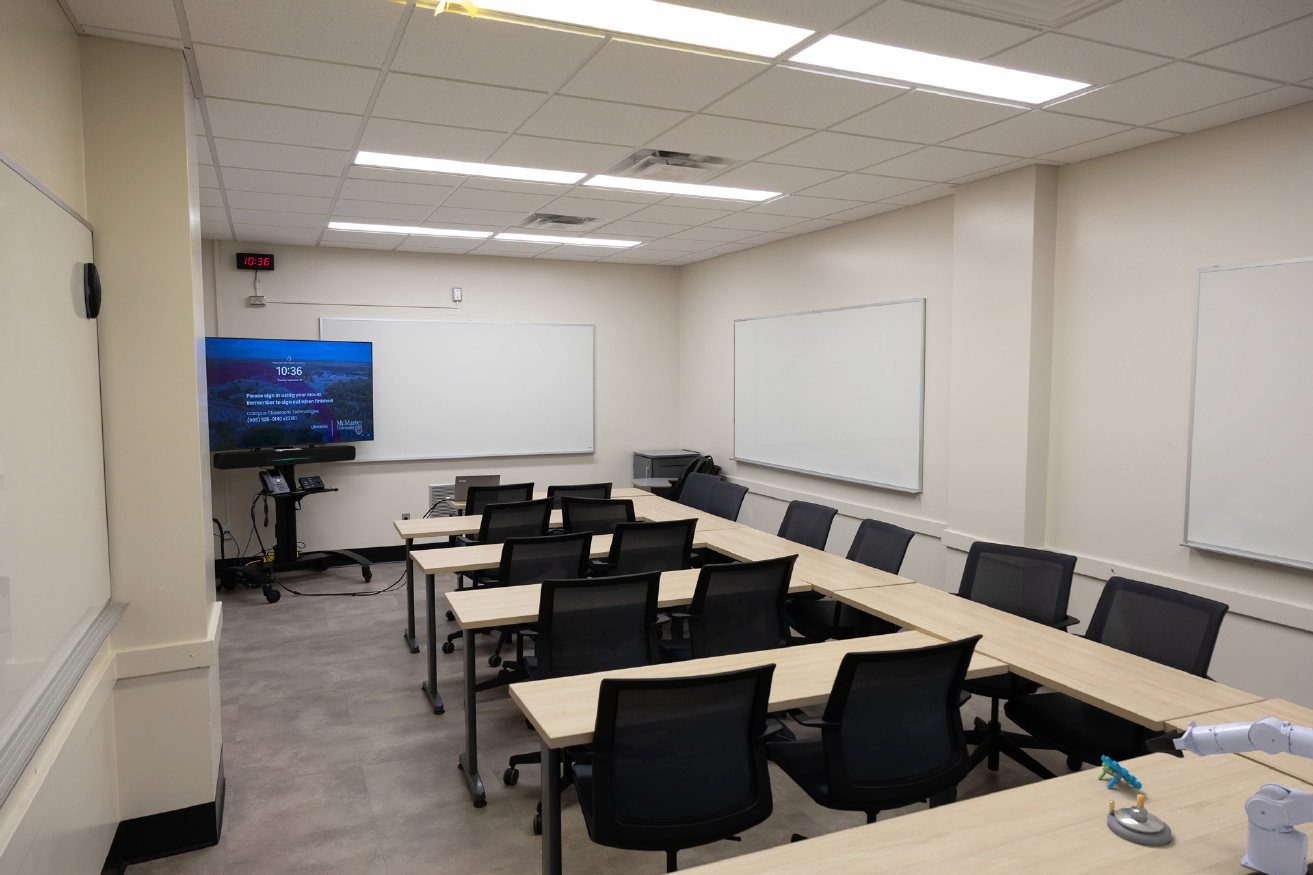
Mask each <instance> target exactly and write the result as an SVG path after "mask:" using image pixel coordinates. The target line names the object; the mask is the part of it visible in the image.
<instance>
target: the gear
mask: <svg viewBox="0 0 1313 875" xmlns="http://www.w3.org/2000/svg"><path fill="white" fill-rule="evenodd" d="M1100 758H1101V761H1102V764H1101V765H1102V772H1101V773H1100V775H1099V776H1098V777H1097V778H1098V780H1100V781H1101V780H1103V778H1104V777H1105V775H1106V774H1107V775H1110V776H1111V777H1112V778H1111V780H1110V781H1109V782H1108V783H1107V784H1106V787H1107V788H1109V789H1110V790H1111V789H1112V788H1113V787H1114V786H1115V784H1116V783H1117V782H1118V781H1121V780H1122V779H1123V781H1124V782H1126V783H1127V784H1130V785H1131V786H1132V787H1133V788H1135V789H1136V788H1138V790H1141V789H1142V788H1143V784H1142V783H1141V782H1140V781H1139V780H1138V778H1136V777H1135V775H1133V774H1130V773H1129V770H1127V769H1126V768H1124V767H1123V766H1121V765H1120V764H1119V762H1118V761H1115V760H1112V758H1110V757H1109V756H1105V755H1104V754H1102V756H1101V757H1100Z"/></svg>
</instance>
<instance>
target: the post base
mask: <svg viewBox="0 0 1313 875" xmlns="http://www.w3.org/2000/svg"><path fill="white" fill-rule="evenodd" d="M1115 808H1116V805H1115V800H1112V799H1109V810H1108V811H1109V812H1108V814H1107V816H1106V819H1107V820H1106V825H1107V828H1108V829H1109V830H1110V831H1111V832H1112V833H1113V834H1115V835H1116V836H1117V837H1120V838H1122V839H1124V840H1126V841H1129V842H1131V843H1135V844H1138V845H1143V846H1147V847H1148V846H1149V847H1160V846H1162V845H1163V846H1166V845H1168V844H1170V843H1171V842H1172V829H1171V827H1170V826H1169V825H1168V824H1167V823H1166V822H1164V821H1163V820H1161V821H1162V822H1163V830H1162V831H1161V832H1159V833H1142V832H1138V831H1134V830H1131V829H1129V828H1127V827H1125V826H1123V825H1121V824H1120V823H1119V822H1118V821H1117V820H1116V819H1115V812H1116V811H1117V810H1118V809H1116V810H1115ZM1170 841H1171V842H1170ZM1169 842H1170V843H1169ZM1165 844H1166V845H1165Z"/></svg>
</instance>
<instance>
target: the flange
mask: <svg viewBox="0 0 1313 875" xmlns="http://www.w3.org/2000/svg"><path fill="white" fill-rule="evenodd" d="M1116 810H1117V811H1116V812H1115V819H1116V820H1117V821H1118V822H1119V823H1120V824H1121V825H1123V826H1125V827H1127V828H1129V829H1131V830H1134V831H1138V832H1142V833H1159V832H1161V831H1162V830H1163V822H1164V821H1163V820H1162V819H1161V818H1160V817H1158V816H1157V815H1155V814H1153V813H1151V812H1149V811H1148V810H1147V808H1146V807H1145V795H1144V794H1139V793H1137V794H1136V805H1133V806H1132V805H1131V806H1130V807H1121V808H1119V809H1116ZM1162 821H1163V822H1162Z"/></svg>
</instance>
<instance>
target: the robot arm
mask: <svg viewBox="0 0 1313 875" xmlns="http://www.w3.org/2000/svg"><path fill="white" fill-rule="evenodd" d="M1196 723H1197V722H1196V721H1194V720H1191V721H1187V725H1188V728H1187V729H1185V730H1184V731H1182V732H1178V729H1171V730H1169V731H1167V732H1166V733H1165V734H1163V735H1160V736H1158V737H1154V738H1149V739H1147V740H1145V741H1144V743H1145V746H1146V749H1147V751H1148V752H1151V753H1159V754H1167V755H1170V756H1173V757H1176V758H1179V759H1183V758H1185V755H1184V752H1183V751H1188V752H1190V753H1193V754H1194V755H1197V756H1199V757H1206V756H1211V755H1227V754H1237V753H1238V754H1239V753H1240V754H1241V753H1251V752H1258V751H1259V752H1260V751H1262V753H1263V752H1264V753H1265V754H1266V753H1267V754H1268V755H1272V756H1273V755H1278V754H1281V753H1282V752H1285V753H1286V754H1288V755H1293V756H1297V757H1301V758H1304V759H1305V758H1306V759H1310V760H1313V728H1311V727H1306V726H1302V725H1297V724H1291V722H1290V721H1287V720H1284V721H1282V720H1281V719H1278V718H1276V717H1270V715H1266V716H1263V717H1262V718H1260V719H1259V720H1258V721H1257V722H1256V721H1246V722H1230V723H1229V722H1228V723H1221V724H1219V723H1218V724H1212V725H1199V726H1197V724H1196ZM1244 810H1245V813H1246V816H1247V838H1246V839H1247V840H1246V841H1247V843H1246V845H1247V846H1246V853H1244V856H1243V857H1242V858H1241V860H1240V865H1242V866H1244V867H1247V868H1250V869H1253V870H1255V871H1257V872H1260V873H1263V874H1267V875H1306V874H1307V872H1308V870H1309V869H1308V851H1309V848H1308V847H1309V846H1308V845H1309V843H1308V842H1309V840H1308V834H1306V833H1305V832H1302V831H1300V830H1298V829H1296V828H1295V826H1299V825H1303V824H1309V823H1313V793H1307V792H1304V791H1302V790H1301V789H1298V788H1289V787H1287V786H1286V787H1285V786H1283V785H1282V784H1278V783H1275V782H1270V783H1268V782H1267V783H1264V784H1263V785H1261V786H1260V788H1259V790H1257V791H1256V792H1255V793H1254V794H1253V795H1252V796H1251V795H1250V796H1249V797H1248V798H1247V799H1246V800H1245V803H1244Z"/></svg>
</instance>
